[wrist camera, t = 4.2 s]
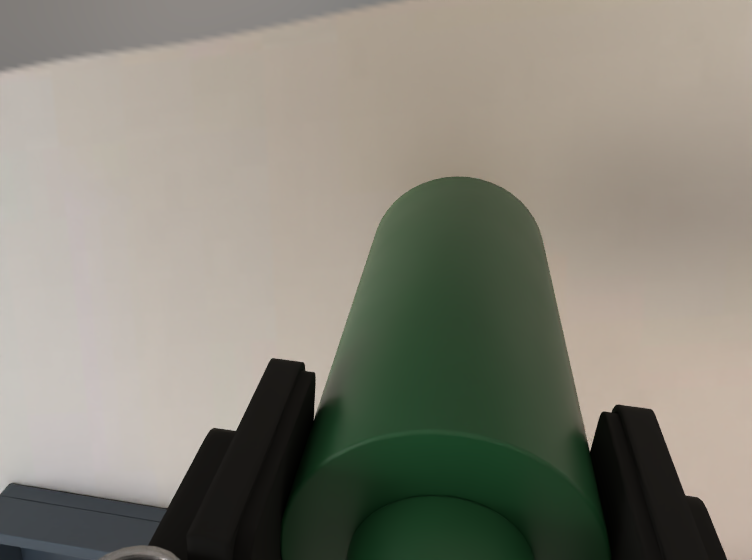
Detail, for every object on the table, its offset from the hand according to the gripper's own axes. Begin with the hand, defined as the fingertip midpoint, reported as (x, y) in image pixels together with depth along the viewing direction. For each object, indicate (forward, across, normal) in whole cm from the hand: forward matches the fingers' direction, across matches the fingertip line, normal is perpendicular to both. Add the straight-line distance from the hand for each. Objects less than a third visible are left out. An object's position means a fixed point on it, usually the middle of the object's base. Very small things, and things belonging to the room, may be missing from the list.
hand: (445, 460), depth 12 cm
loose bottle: (+8, 0, 0) cm, 8 cm away
